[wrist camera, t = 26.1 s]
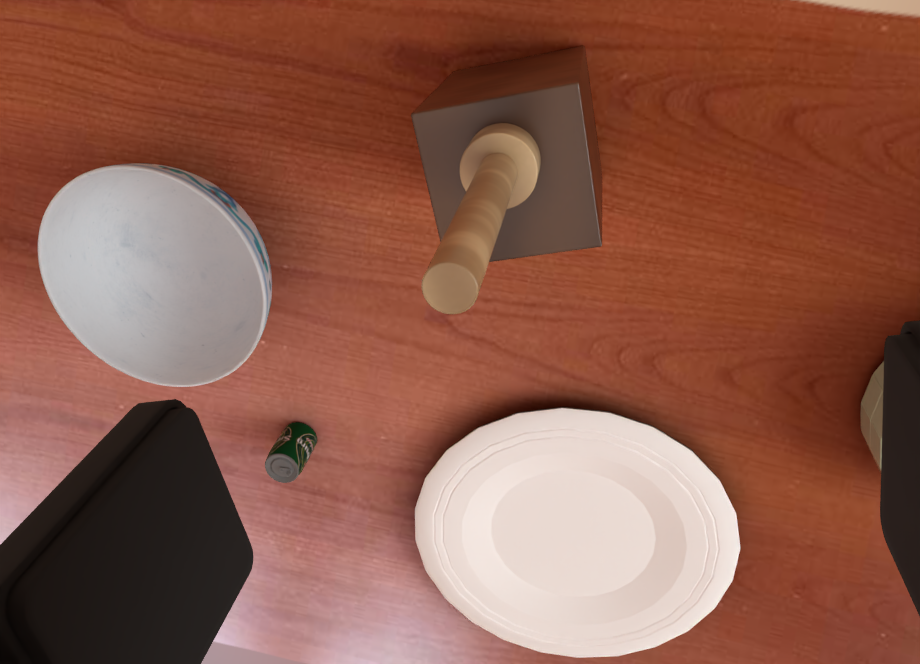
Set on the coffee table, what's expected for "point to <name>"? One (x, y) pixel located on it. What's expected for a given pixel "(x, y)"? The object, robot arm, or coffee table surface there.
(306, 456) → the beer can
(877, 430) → the bowl
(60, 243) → the chinaware
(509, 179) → the stick
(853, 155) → the coffee table surface
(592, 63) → the coffee table surface
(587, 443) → the plate
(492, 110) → the stand
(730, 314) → the coffee table surface
